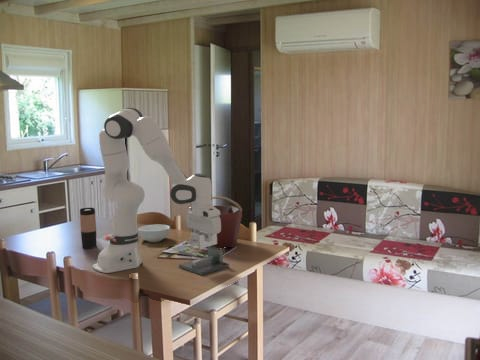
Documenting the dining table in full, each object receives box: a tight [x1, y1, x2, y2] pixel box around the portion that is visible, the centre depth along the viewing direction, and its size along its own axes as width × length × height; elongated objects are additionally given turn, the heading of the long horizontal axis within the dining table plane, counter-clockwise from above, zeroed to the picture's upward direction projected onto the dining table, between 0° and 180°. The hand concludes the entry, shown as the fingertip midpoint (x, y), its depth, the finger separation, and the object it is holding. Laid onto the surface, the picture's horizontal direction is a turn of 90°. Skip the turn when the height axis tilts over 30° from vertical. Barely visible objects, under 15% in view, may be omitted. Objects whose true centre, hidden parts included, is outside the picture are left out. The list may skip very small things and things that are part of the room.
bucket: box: [207, 196, 243, 248], centre depth 280 cm, size 24×22×25 cm
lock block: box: [189, 230, 217, 250], centre depth 242 cm, size 10×6×6 cm, turn 134°
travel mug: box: [79, 207, 97, 250], centre depth 278 cm, size 8×8×20 cm
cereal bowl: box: [137, 223, 171, 243], centre depth 291 cm, size 17×17×7 cm
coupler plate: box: [178, 246, 230, 276], centre depth 243 cm, size 16×16×8 cm
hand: (203, 240), depth 242 cm, fingers closed on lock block, 6 cm apart
